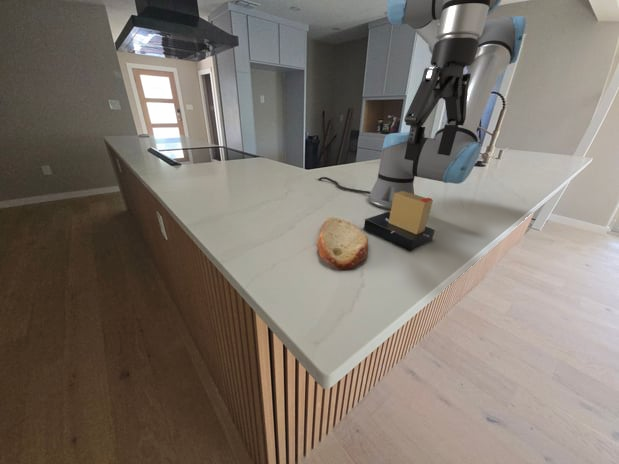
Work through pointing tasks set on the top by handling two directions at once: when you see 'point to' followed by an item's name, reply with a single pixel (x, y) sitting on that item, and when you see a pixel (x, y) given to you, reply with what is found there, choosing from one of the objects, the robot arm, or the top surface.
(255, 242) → the top surface
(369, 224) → the black flat block
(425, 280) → the top surface
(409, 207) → the wooden block
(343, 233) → the bread slice
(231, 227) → the top surface
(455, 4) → the robot arm
